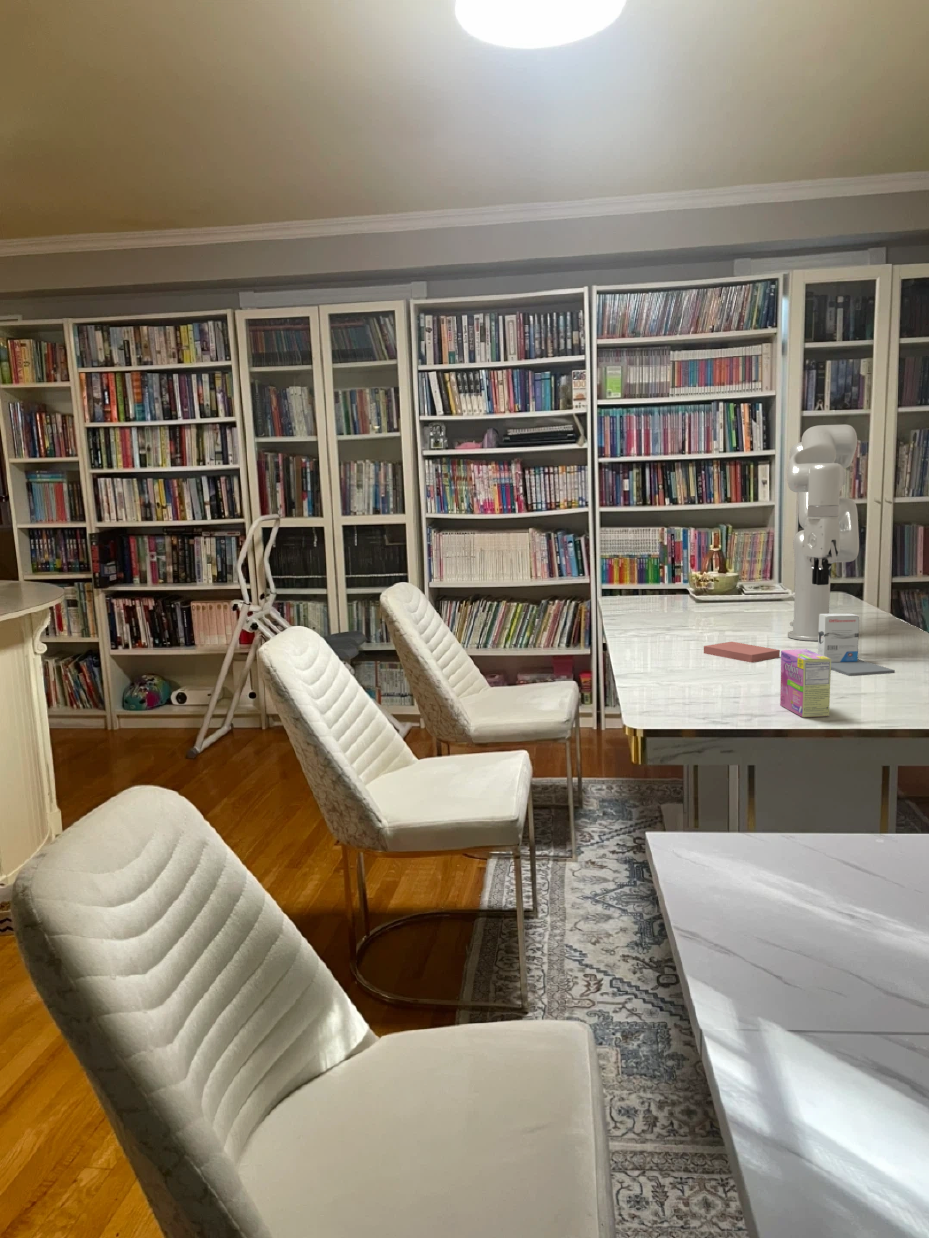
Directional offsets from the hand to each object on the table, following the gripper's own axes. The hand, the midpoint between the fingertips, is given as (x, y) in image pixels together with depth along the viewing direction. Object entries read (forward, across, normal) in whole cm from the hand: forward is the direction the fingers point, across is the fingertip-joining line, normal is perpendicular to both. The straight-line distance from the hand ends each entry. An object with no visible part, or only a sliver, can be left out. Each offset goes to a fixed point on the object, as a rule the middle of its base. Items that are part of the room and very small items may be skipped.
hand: (820, 584), depth 233 cm
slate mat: (+19, +14, 0) cm, 23 cm away
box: (+19, +48, -34) cm, 62 cm away
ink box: (+19, +8, 0) cm, 20 cm away
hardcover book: (+20, -8, -18) cm, 28 cm away
